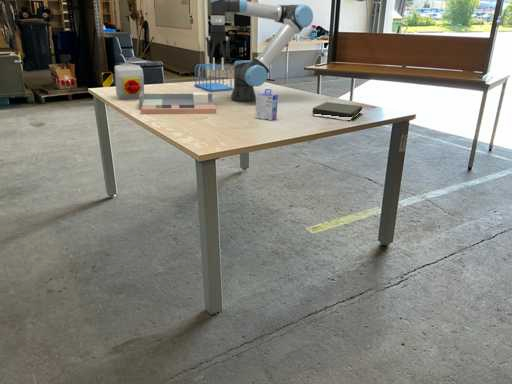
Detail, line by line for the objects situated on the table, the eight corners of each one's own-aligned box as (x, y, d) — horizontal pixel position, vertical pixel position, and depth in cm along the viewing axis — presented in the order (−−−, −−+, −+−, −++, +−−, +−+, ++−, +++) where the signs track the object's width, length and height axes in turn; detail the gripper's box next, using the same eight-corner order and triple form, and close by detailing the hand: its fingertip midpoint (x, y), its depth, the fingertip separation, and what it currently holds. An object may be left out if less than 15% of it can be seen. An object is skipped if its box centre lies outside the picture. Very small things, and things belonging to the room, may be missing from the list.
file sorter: (194, 86, 305) (193, 64, 299) (216, 85, 313) (216, 63, 307) (210, 92, 285) (209, 68, 279) (233, 90, 294) (233, 67, 288)
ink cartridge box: (277, 119, 218) (278, 89, 212) (271, 121, 213) (273, 91, 208) (260, 116, 222) (261, 87, 217) (254, 118, 218) (255, 89, 212)
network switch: (356, 123, 216) (357, 113, 214) (310, 118, 223) (311, 108, 222) (362, 114, 237) (363, 104, 235) (320, 109, 244) (320, 100, 242)
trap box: (212, 103, 251) (211, 90, 248) (216, 113, 225) (216, 100, 223) (142, 103, 244) (141, 91, 241) (138, 114, 219) (137, 100, 216)
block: (207, 100, 246) (207, 92, 244) (208, 102, 238) (208, 94, 237) (193, 100, 244) (192, 92, 243) (193, 102, 237) (193, 94, 235)
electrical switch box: (120, 105, 248) (118, 70, 238) (116, 97, 260) (114, 63, 250) (146, 104, 254) (144, 70, 244) (141, 96, 265) (139, 63, 255)
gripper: (202, 24, 223) (202, 70, 232) (235, 25, 226) (234, 71, 235) (201, 23, 230) (202, 69, 239) (233, 24, 233) (232, 69, 241)
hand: (218, 69), depth 237 cm, fingers open, 4 cm apart
